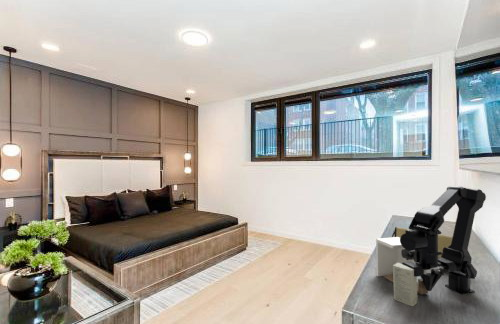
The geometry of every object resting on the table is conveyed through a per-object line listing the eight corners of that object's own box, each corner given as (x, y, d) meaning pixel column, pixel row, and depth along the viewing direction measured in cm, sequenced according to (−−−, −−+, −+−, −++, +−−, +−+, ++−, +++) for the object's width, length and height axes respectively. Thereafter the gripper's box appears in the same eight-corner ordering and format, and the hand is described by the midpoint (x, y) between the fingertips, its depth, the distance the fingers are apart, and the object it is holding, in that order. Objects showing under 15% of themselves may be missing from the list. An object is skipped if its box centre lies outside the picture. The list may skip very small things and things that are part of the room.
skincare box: (417, 302, 85) (417, 267, 85) (412, 307, 82) (412, 270, 82) (397, 295, 90) (397, 261, 90) (392, 299, 87) (392, 264, 87)
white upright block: (398, 272, 108) (397, 236, 108) (416, 282, 99) (415, 243, 99) (376, 275, 105) (376, 238, 105) (393, 285, 96) (392, 245, 97)
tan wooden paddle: (400, 275, 104) (400, 263, 104) (433, 293, 90) (433, 279, 90) (384, 277, 103) (384, 265, 103) (415, 296, 88) (415, 281, 88)
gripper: (427, 238, 98) (428, 277, 98) (388, 242, 94) (389, 283, 94) (457, 247, 87) (457, 291, 87) (414, 252, 83) (414, 298, 83)
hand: (428, 290), depth 88 cm, fingers closed
